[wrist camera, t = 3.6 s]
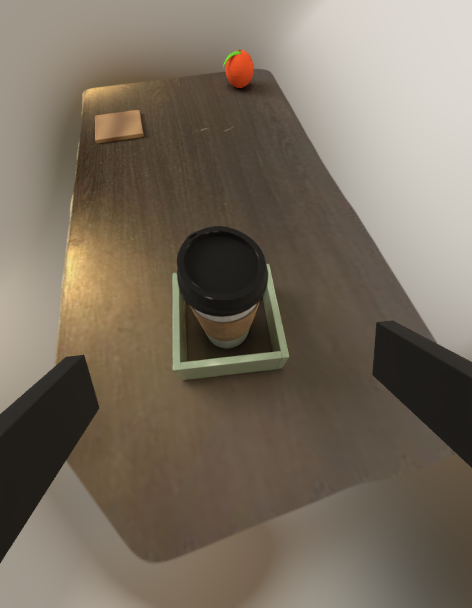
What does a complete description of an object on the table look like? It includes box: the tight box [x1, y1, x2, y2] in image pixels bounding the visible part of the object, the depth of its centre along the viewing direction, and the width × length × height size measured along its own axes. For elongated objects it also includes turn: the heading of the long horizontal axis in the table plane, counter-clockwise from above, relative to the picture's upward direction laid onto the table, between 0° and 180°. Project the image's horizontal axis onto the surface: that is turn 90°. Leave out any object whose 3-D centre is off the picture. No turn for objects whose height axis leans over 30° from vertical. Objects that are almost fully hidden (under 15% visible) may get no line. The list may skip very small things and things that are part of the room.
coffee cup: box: [177, 226, 268, 349], centre depth 28 cm, size 8×8×15 cm
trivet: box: [95, 110, 144, 144], centre depth 58 cm, size 10×10×1 cm
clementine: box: [224, 50, 254, 88], centre depth 64 cm, size 8×7×7 cm
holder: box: [173, 264, 289, 380], centre depth 33 cm, size 13×13×5 cm
